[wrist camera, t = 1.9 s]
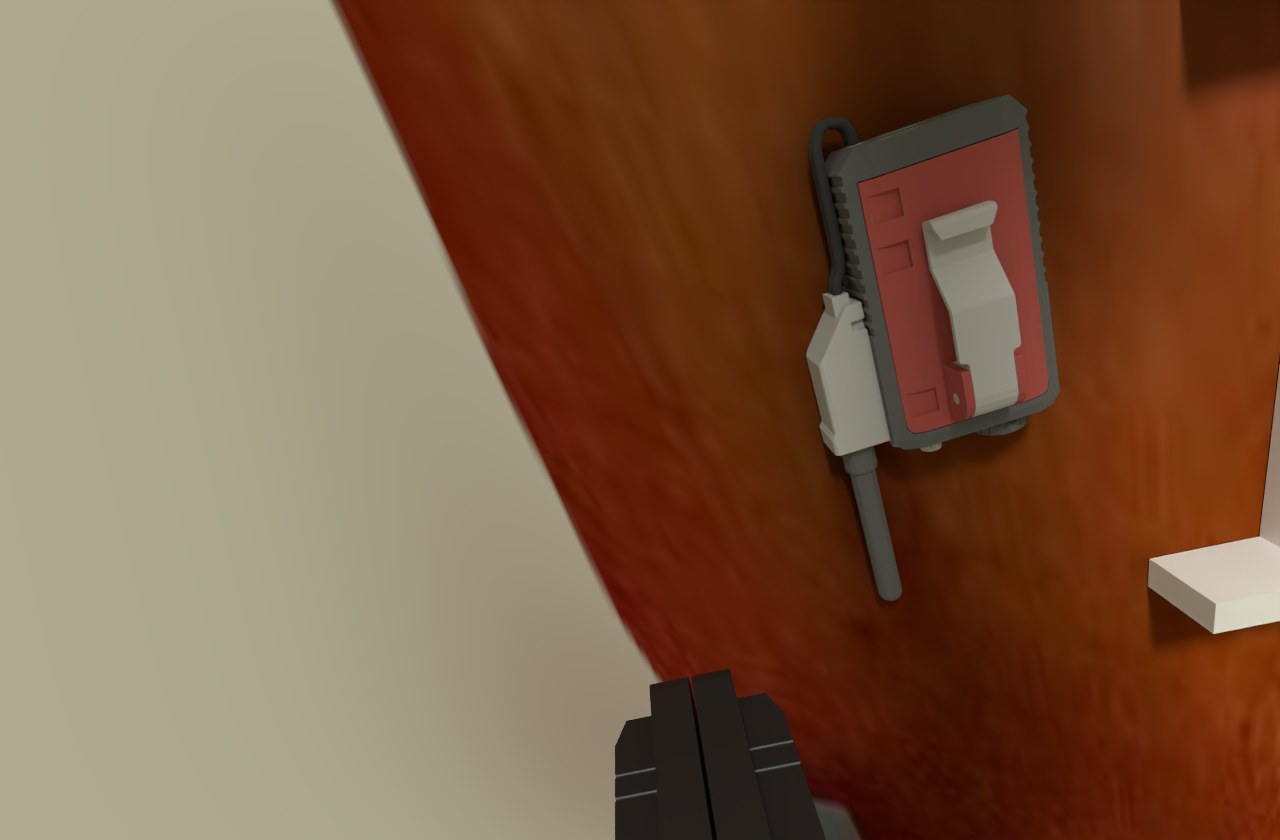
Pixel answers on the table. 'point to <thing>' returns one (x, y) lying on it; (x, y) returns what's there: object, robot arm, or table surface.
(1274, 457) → the white c-shaped bracket
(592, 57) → the table surface
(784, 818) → the robot arm
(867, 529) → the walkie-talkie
